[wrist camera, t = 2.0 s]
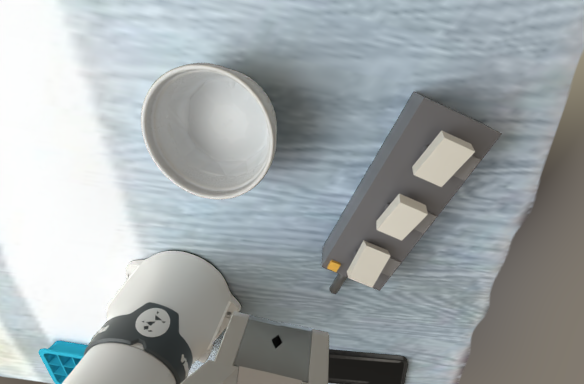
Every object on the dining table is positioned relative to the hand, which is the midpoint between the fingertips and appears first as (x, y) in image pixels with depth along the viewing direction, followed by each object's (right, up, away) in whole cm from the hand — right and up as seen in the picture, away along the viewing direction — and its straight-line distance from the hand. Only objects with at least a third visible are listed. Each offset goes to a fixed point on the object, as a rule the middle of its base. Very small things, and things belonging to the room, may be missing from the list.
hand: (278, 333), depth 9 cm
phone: (+12, -25, +42) cm, 50 cm away
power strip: (+11, +2, +27) cm, 30 cm away
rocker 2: (+12, +2, +22) cm, 25 cm away
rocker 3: (+14, +8, +18) cm, 24 cm away
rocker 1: (+9, -4, +25) cm, 27 cm away
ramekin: (-7, +13, +25) cm, 29 cm away
